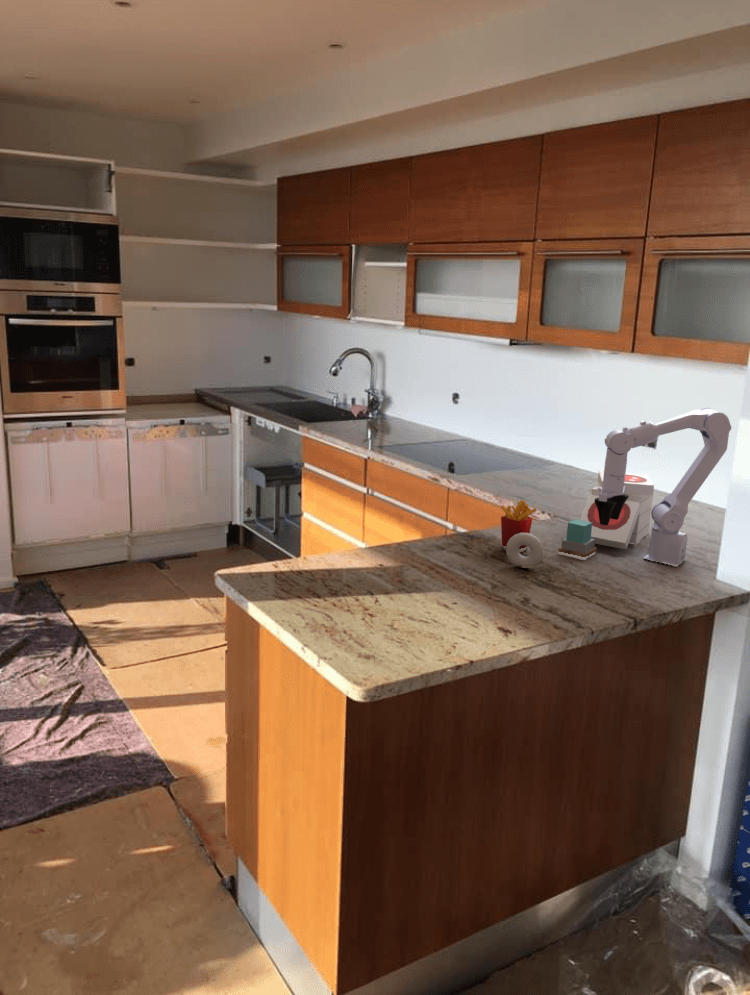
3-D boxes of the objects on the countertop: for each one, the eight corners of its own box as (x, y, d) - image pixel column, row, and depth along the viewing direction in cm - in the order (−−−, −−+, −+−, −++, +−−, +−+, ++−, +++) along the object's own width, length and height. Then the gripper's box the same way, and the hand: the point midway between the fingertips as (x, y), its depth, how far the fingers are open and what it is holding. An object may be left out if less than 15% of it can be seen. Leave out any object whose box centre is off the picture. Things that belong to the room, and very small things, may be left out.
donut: (503, 567, 224) (506, 531, 222) (506, 563, 227) (509, 528, 225) (540, 573, 221) (543, 537, 218) (542, 569, 224) (546, 533, 221)
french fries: (497, 549, 239) (501, 499, 235) (514, 544, 245) (518, 494, 241) (522, 557, 233) (527, 505, 229) (539, 551, 239) (544, 500, 235)
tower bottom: (595, 556, 239) (596, 547, 238) (584, 562, 233) (585, 554, 232) (569, 549, 243) (570, 541, 243) (557, 556, 237) (558, 548, 237)
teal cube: (590, 539, 237) (592, 522, 236) (582, 543, 233) (584, 526, 232) (574, 535, 240) (575, 519, 239) (566, 539, 236) (568, 522, 235)
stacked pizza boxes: (566, 544, 246) (572, 485, 242) (597, 522, 271) (603, 467, 267) (632, 557, 237) (639, 496, 232) (657, 533, 262) (665, 477, 257)
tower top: (594, 547, 238) (594, 539, 238) (585, 553, 233) (586, 545, 232) (570, 542, 242) (571, 534, 241) (561, 548, 236) (562, 539, 236)
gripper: (610, 467, 238) (605, 513, 242) (590, 476, 227) (585, 524, 230) (634, 471, 234) (629, 518, 238) (615, 480, 223) (609, 529, 226)
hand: (609, 521), depth 234 cm, fingers open, 7 cm apart
